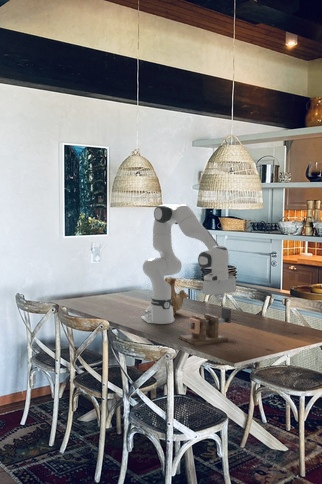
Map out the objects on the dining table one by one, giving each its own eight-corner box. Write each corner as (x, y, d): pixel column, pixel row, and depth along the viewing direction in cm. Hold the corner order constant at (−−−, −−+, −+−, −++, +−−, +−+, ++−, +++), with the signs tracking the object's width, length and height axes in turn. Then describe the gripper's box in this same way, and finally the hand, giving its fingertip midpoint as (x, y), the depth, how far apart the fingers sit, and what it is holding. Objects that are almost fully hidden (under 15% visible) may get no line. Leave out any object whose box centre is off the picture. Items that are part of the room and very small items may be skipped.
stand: (179, 338, 278) (179, 315, 277) (209, 334, 288) (210, 311, 287) (196, 345, 264) (197, 321, 263) (227, 340, 275) (228, 317, 274)
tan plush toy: (189, 314, 337) (190, 276, 335) (168, 318, 325) (168, 278, 323) (170, 310, 351) (171, 273, 349) (149, 313, 338) (149, 275, 336)
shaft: (186, 325, 274) (186, 311, 273) (223, 320, 286) (224, 307, 286) (192, 327, 269) (193, 313, 268) (230, 322, 281) (231, 309, 281)
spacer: (188, 331, 275) (189, 317, 275) (191, 330, 276) (192, 317, 276) (196, 334, 269) (196, 320, 269) (199, 333, 270) (199, 320, 270)
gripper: (231, 274, 287) (231, 299, 288) (201, 276, 276) (200, 302, 277) (238, 275, 282) (238, 301, 283) (208, 278, 271) (207, 304, 272)
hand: (219, 301), depth 280 cm, fingers closed
